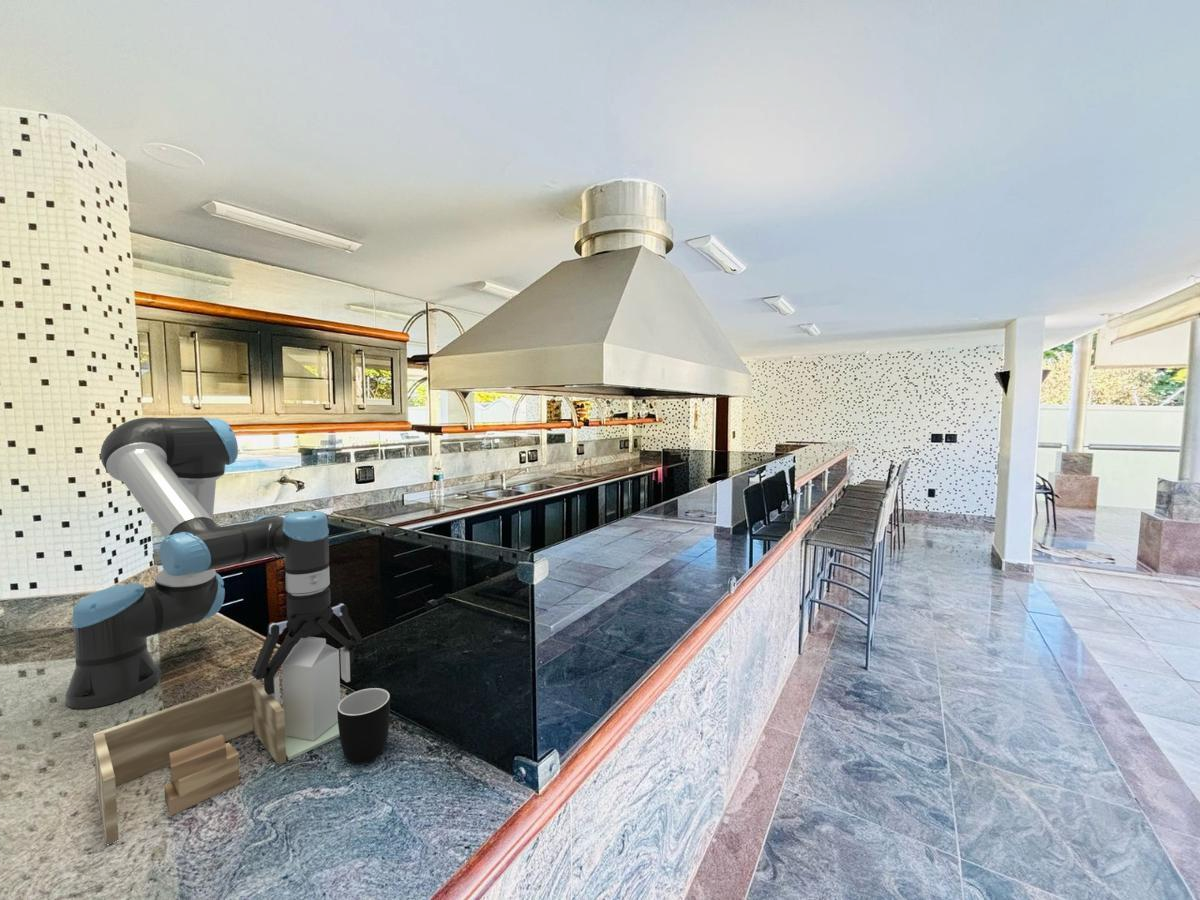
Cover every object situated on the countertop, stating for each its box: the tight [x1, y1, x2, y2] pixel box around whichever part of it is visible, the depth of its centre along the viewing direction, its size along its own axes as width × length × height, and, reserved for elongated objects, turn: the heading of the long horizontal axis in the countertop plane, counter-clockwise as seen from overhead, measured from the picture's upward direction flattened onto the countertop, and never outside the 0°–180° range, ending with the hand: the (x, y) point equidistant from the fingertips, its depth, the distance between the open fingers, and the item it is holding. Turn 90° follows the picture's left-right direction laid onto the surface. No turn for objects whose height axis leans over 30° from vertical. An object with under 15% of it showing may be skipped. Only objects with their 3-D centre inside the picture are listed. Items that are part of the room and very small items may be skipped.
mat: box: [285, 722, 340, 761], centre depth 98 cm, size 12×12×1 cm
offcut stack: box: [163, 734, 240, 817], centre depth 82 cm, size 6×9×8 cm, turn 140°
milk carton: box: [281, 635, 341, 741], centre depth 97 cm, size 7×7×19 cm
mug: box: [337, 687, 391, 764], centre depth 92 cm, size 12×9×10 cm
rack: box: [92, 678, 287, 845], centre depth 85 cm, size 17×23×10 cm
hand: (312, 693), depth 98 cm, fingers open, 12 cm apart
